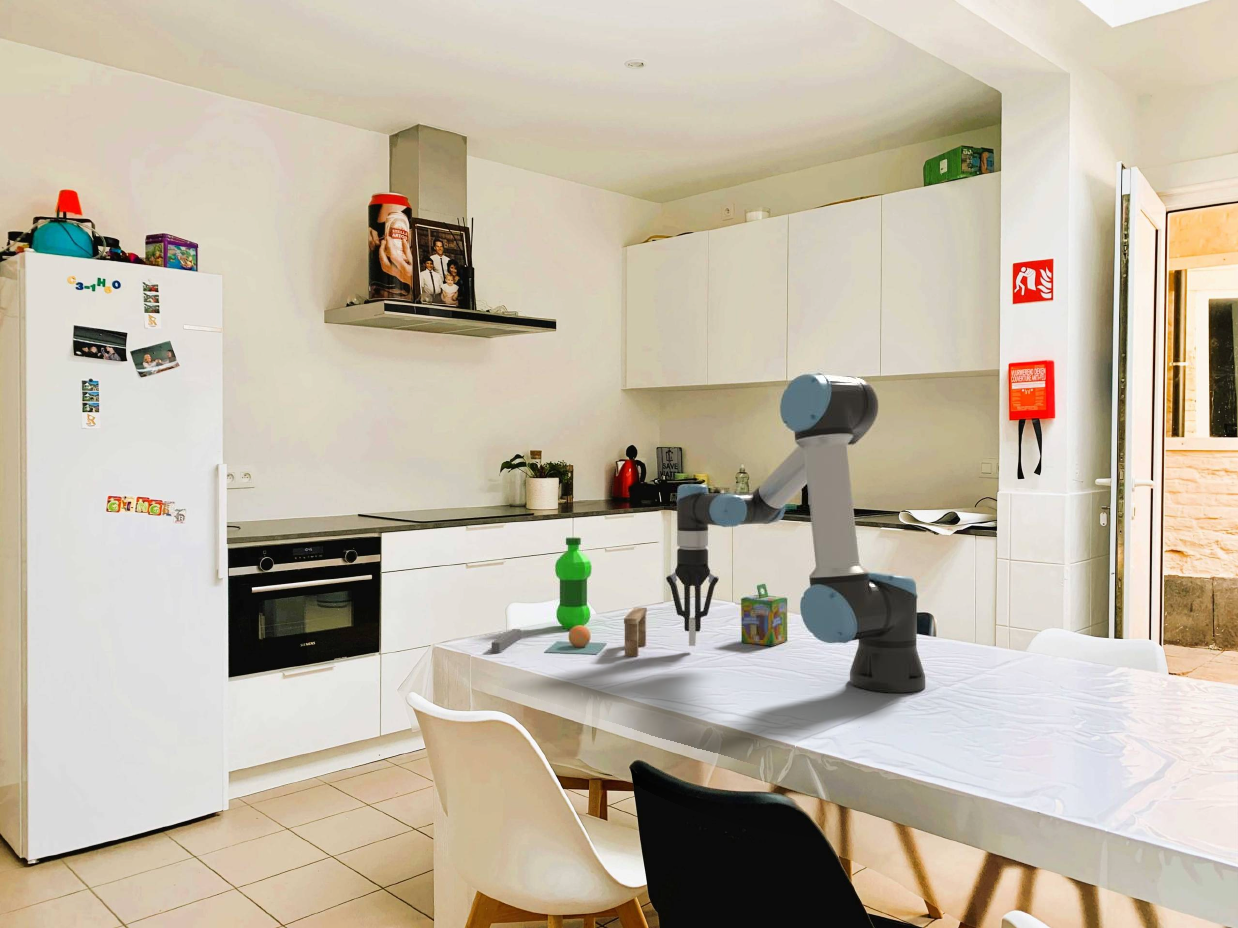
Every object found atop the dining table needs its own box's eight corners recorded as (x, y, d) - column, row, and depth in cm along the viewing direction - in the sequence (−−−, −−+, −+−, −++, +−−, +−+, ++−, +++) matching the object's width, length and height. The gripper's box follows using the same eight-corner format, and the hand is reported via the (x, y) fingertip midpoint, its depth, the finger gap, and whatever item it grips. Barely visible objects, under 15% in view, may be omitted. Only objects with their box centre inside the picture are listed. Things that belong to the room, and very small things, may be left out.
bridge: (646, 643, 230) (646, 607, 230) (636, 657, 214) (636, 618, 214) (635, 643, 231) (635, 607, 231) (623, 657, 215) (623, 618, 215)
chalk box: (772, 647, 226) (772, 588, 226) (739, 642, 232) (739, 585, 232) (789, 641, 234) (789, 584, 234) (757, 637, 239) (757, 581, 239)
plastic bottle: (598, 626, 255) (598, 537, 255) (577, 632, 246) (577, 540, 246) (569, 622, 260) (569, 535, 260) (547, 628, 251) (547, 538, 251)
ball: (568, 651, 224) (590, 647, 223) (563, 630, 224) (585, 625, 223) (574, 646, 229) (594, 642, 228) (569, 625, 229) (590, 621, 228)
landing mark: (596, 654, 218) (596, 653, 218) (544, 652, 220) (544, 651, 220) (606, 643, 230) (606, 642, 230) (557, 641, 233) (557, 641, 233)
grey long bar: (499, 653, 219) (499, 642, 219) (491, 652, 220) (491, 642, 220) (520, 638, 237) (520, 629, 237) (513, 638, 237) (513, 628, 237)
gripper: (720, 546, 222) (720, 642, 223) (667, 545, 225) (667, 640, 225) (718, 549, 215) (718, 648, 215) (663, 548, 217) (663, 646, 217)
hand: (692, 644), depth 220 cm, fingers closed
